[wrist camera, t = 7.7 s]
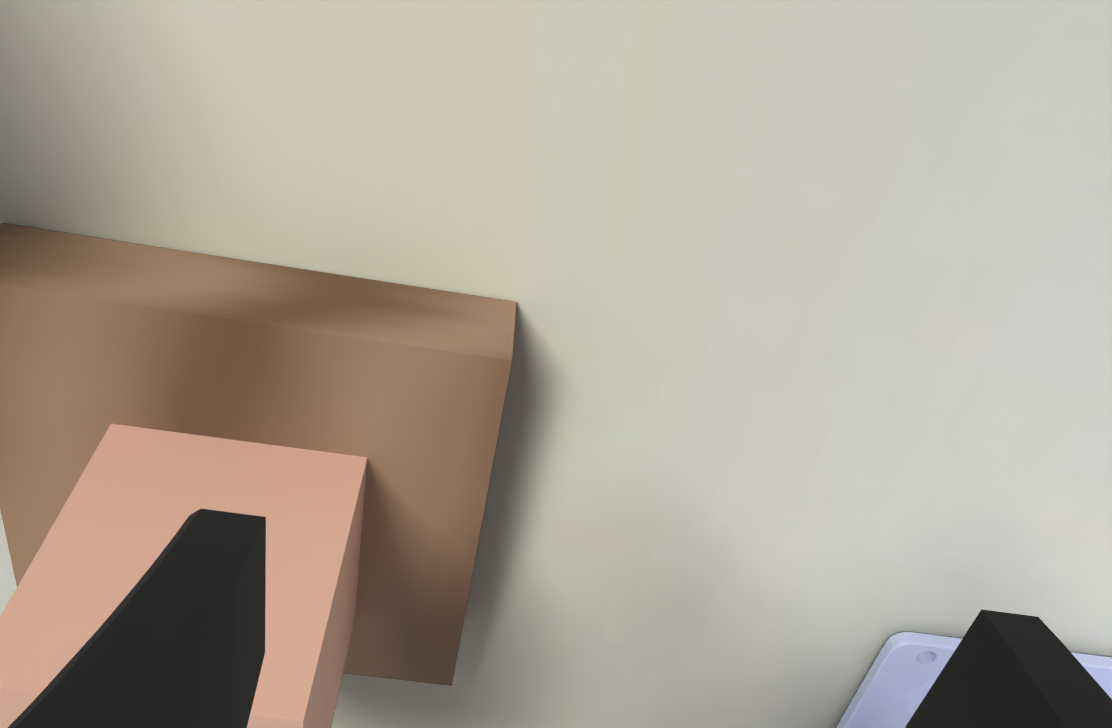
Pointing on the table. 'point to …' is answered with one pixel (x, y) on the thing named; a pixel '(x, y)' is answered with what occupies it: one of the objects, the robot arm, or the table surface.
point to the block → (150, 524)
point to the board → (264, 404)
